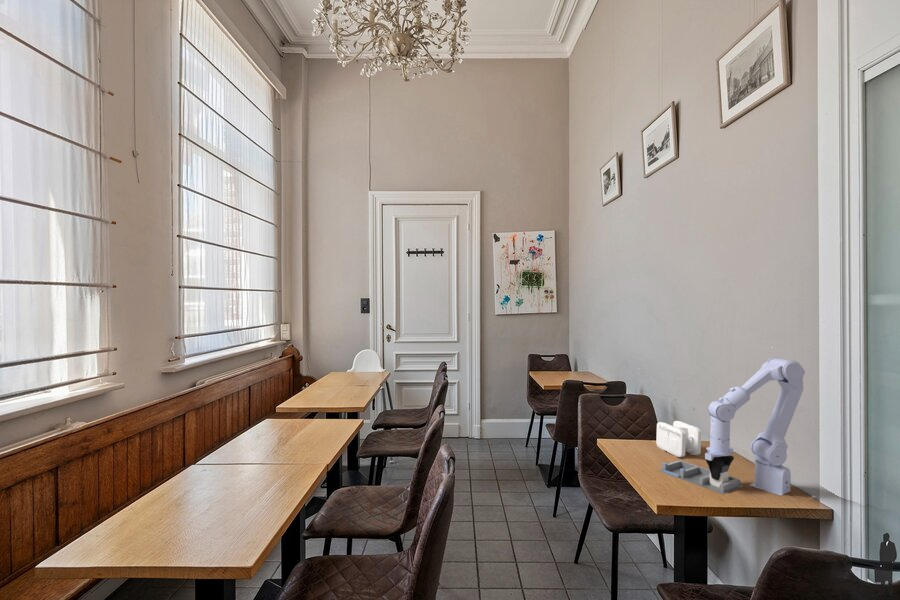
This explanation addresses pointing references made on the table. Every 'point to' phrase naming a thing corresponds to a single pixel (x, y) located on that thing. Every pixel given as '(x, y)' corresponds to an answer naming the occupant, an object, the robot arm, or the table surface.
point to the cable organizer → (678, 438)
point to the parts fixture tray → (698, 476)
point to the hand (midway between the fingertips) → (718, 477)
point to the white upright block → (722, 478)
